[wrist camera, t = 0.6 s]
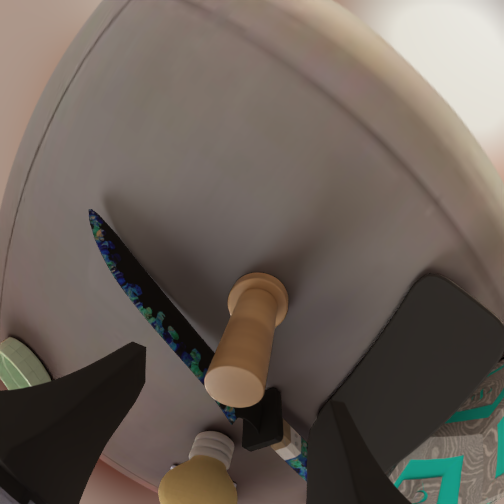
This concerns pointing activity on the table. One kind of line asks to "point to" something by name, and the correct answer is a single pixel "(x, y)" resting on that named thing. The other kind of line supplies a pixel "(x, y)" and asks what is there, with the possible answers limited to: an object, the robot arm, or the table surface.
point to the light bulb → (202, 474)
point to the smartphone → (421, 368)
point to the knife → (197, 350)
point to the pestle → (247, 341)
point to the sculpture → (460, 453)
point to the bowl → (20, 366)
